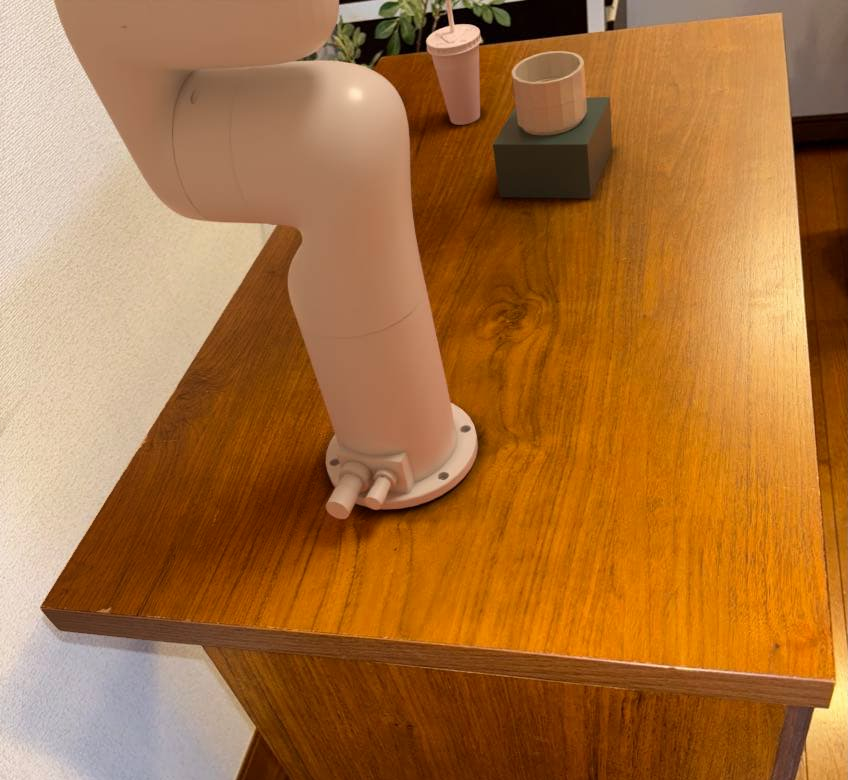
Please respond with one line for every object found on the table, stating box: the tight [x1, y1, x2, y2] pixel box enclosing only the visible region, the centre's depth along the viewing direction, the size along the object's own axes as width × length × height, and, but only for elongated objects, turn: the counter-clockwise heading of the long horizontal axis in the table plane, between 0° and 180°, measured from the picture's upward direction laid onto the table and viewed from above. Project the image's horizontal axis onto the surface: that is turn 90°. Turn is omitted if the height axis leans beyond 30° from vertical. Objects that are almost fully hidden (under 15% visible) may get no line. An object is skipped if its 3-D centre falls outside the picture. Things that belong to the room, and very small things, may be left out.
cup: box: [510, 50, 587, 135], centre depth 101 cm, size 7×7×6 cm
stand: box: [492, 96, 613, 200], centre depth 105 cm, size 10×10×6 cm
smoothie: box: [425, 0, 482, 126], centre depth 115 cm, size 6×6×14 cm
